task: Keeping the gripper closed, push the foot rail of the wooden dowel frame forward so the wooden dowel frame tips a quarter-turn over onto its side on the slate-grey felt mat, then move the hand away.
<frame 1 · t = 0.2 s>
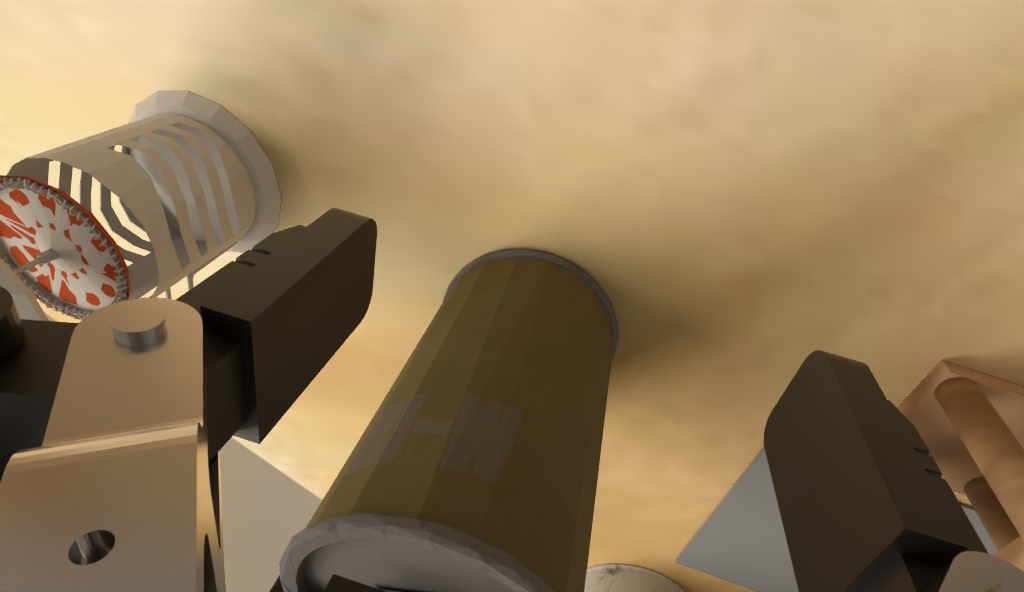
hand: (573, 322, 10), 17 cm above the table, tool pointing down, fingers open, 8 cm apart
mat: (834, 546, 36), on the table
french press: (213, 190, 32), on the table
wooden dowel frame: (961, 427, 29), on the table
canister: (525, 325, 32), on the table
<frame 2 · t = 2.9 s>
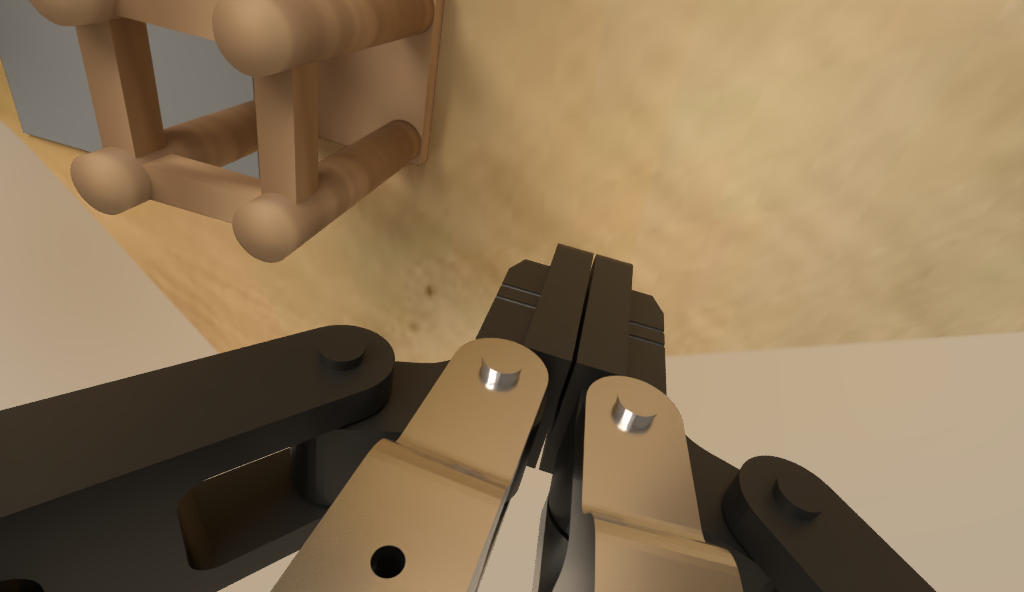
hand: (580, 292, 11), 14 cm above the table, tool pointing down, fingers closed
wooden dowel frame: (359, 60, 23), on the table
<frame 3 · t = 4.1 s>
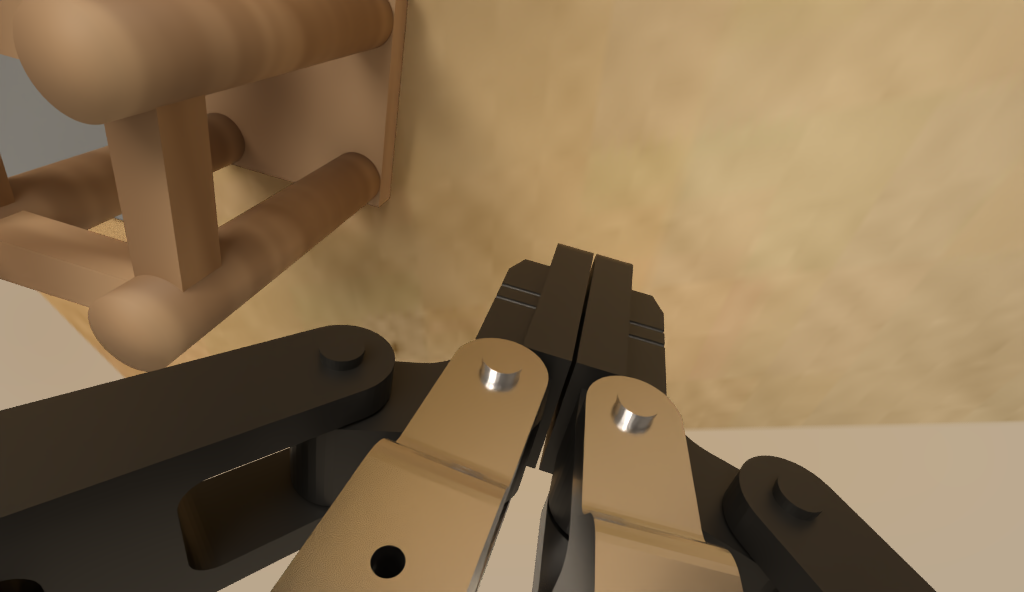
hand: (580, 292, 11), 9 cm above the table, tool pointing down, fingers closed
wooden dowel frame: (303, 77, 19), on the table
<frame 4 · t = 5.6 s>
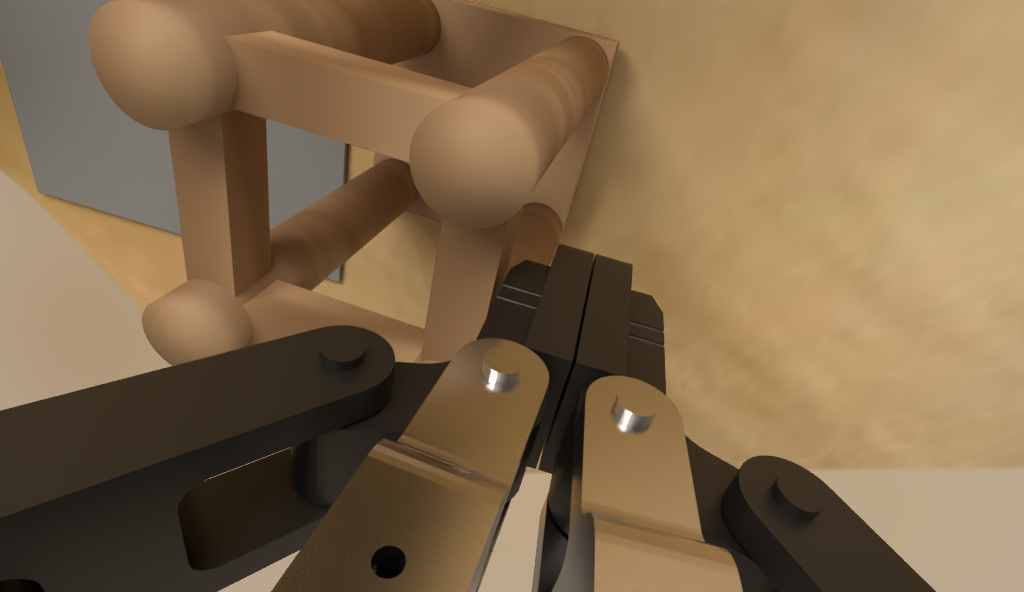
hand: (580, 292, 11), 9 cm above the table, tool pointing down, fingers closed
mat: (164, 35, 19), on the table
wooden dowel frame: (487, 125, 18), on the table, touching gripper
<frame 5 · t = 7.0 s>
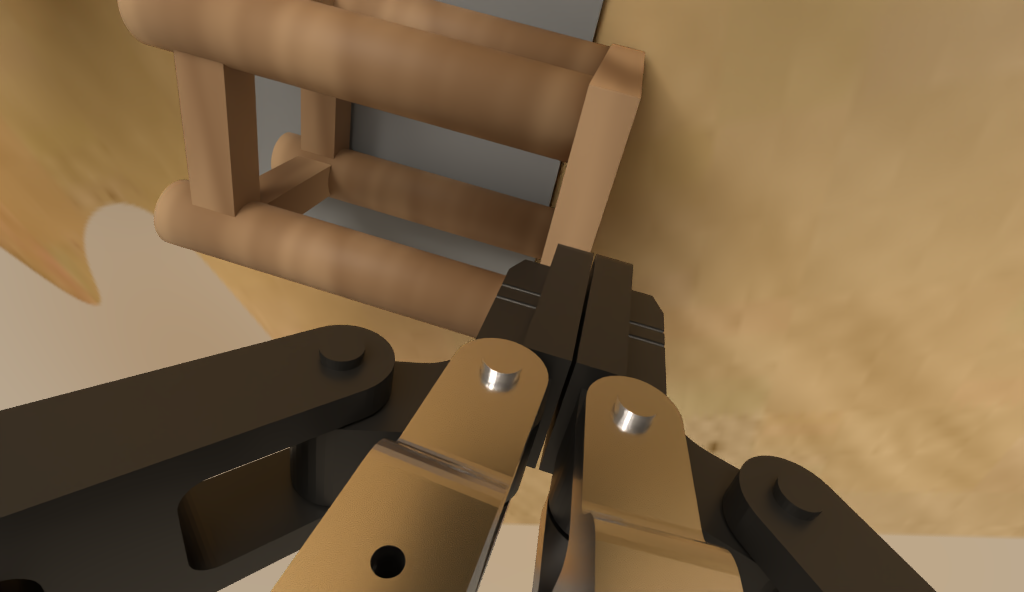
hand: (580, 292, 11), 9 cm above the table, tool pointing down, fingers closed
mat: (367, 96, 19), on the table
wooden dowel frame: (600, 202, 15), point 4 cm above the table, tilted 90°, touching mat
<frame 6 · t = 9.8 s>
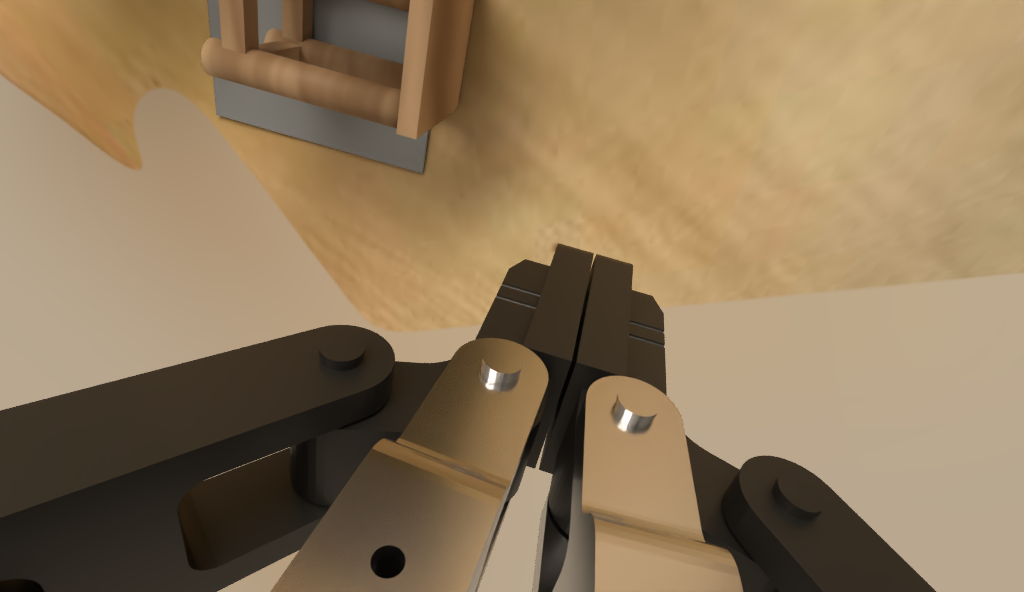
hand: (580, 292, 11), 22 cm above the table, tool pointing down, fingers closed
mat: (323, 5, 31), on the table
wooden dowel frame: (448, 53, 27), point 4 cm above the table, tilted 90°, touching mat
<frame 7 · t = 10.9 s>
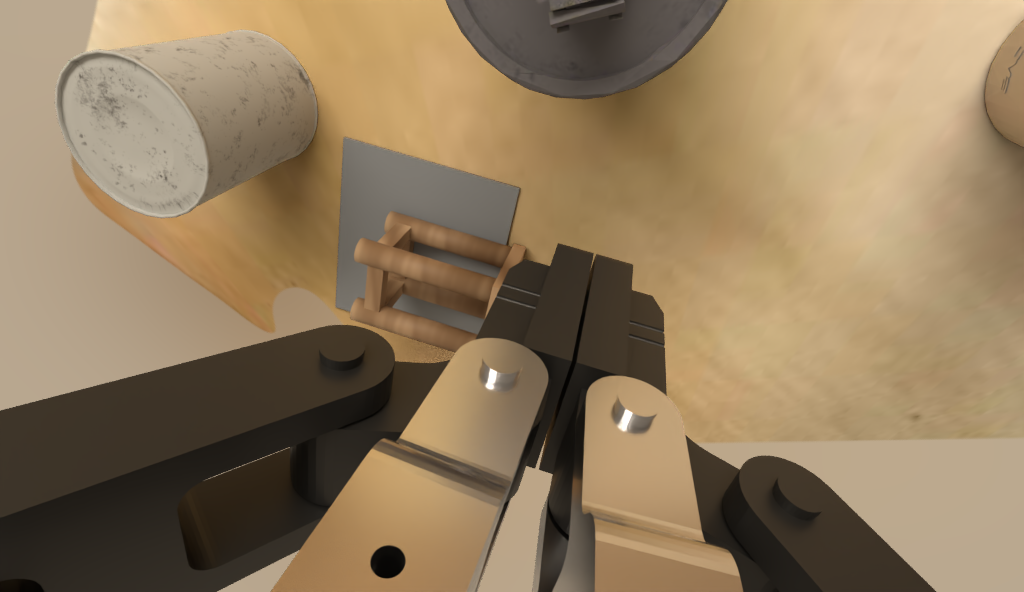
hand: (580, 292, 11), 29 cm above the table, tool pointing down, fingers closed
mat: (418, 253, 46), on the table
wooden dowel frame: (507, 305, 42), point 4 cm above the table, tilted 90°, touching mat
grey mottled cylinder: (261, 98, 42), on the table
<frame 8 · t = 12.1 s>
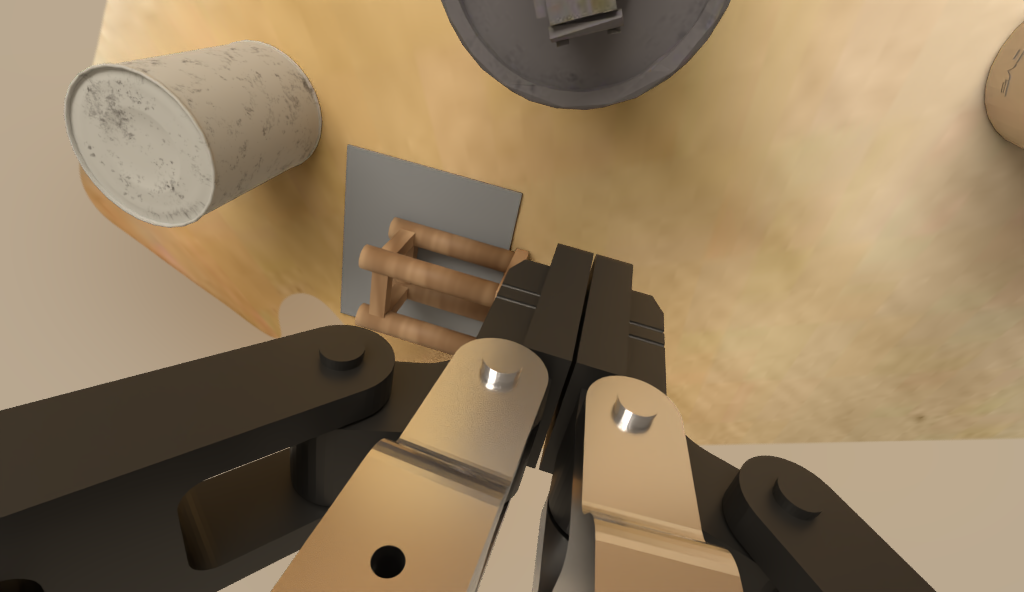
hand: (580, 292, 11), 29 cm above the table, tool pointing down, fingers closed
mat: (422, 258, 46), on the table
wooden dowel frame: (510, 310, 42), point 4 cm above the table, tilted 90°, touching mat
grey mottled cylinder: (266, 107, 42), on the table
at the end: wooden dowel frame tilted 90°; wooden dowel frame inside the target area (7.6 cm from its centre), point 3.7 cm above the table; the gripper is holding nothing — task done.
